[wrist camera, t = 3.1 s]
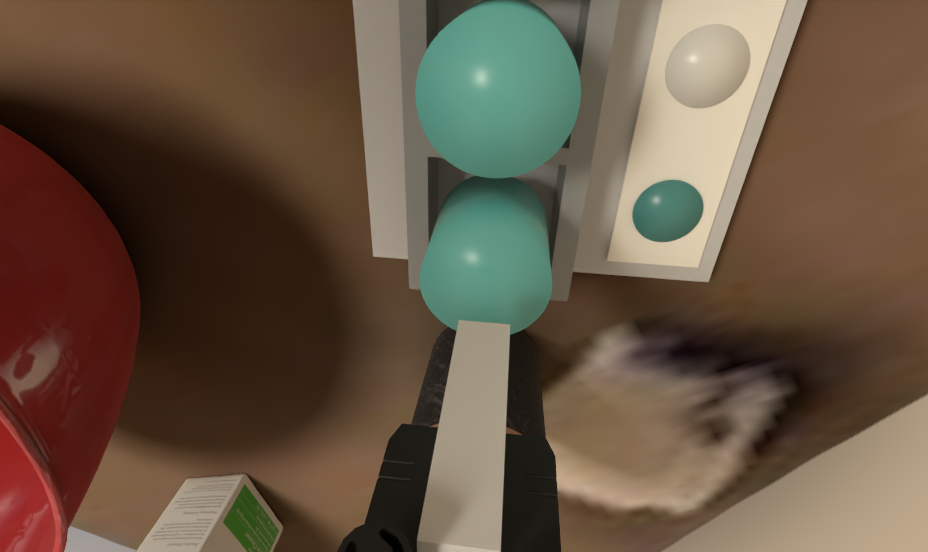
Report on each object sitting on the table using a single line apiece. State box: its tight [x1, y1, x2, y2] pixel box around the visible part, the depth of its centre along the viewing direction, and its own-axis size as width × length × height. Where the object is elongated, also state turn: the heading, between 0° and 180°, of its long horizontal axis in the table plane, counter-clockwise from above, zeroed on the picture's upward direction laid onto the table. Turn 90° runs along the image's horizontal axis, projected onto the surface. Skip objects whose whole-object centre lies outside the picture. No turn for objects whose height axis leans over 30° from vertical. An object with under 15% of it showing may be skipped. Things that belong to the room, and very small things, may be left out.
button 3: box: [420, 176, 552, 335], centre depth 20 cm, size 5×5×5 cm
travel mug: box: [411, 327, 546, 438], centre depth 25 cm, size 8×8×20 cm
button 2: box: [415, 0, 581, 178], centre depth 16 cm, size 5×5×5 cm
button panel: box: [353, 0, 808, 302], centre depth 21 cm, size 21×18×5 cm
